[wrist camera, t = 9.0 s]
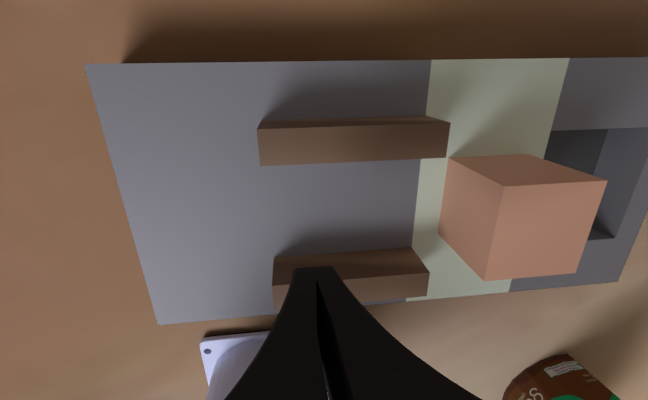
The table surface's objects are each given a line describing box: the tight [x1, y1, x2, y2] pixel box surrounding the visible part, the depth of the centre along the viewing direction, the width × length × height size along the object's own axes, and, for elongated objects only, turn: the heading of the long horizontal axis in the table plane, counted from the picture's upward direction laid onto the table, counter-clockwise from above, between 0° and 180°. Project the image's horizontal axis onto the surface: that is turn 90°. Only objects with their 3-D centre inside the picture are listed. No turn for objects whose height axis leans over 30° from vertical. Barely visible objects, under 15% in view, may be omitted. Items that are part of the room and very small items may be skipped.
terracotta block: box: [438, 154, 608, 281], centre depth 15 cm, size 4×4×4 cm
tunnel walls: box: [257, 115, 451, 310], centre depth 15 cm, size 9×8×2 cm
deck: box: [84, 57, 648, 325], centre depth 18 cm, size 14×30×3 cm, turn 91°
